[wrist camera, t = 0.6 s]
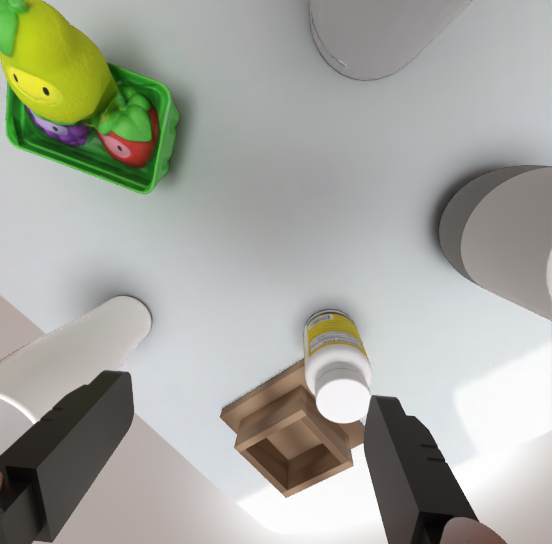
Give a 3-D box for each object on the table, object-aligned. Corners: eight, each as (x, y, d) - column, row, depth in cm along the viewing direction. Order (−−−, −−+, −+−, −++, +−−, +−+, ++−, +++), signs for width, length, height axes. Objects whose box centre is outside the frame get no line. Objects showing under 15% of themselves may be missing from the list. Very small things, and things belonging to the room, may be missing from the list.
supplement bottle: (343, 361, 32) (361, 441, 22) (295, 344, 31) (293, 417, 22) (366, 319, 30) (395, 386, 20) (315, 300, 30) (321, 360, 20)
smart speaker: (544, 151, 24) (848, 127, 11) (545, 258, 26) (788, 346, 13) (421, 184, 25) (552, 200, 12) (434, 282, 28) (552, 383, 15)
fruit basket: (57, 148, 27) (-105, 134, 16) (66, 35, 24) (-123, -73, 13) (177, 192, 27) (98, 207, 17) (201, 87, 24) (124, 22, 14)
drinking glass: (132, 354, 33) (9, 490, 19) (86, 311, 32) (-84, 423, 18) (173, 321, 32) (70, 445, 17) (126, 274, 30) (-28, 367, 16)
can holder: (304, 358, 32) (305, 389, 27) (367, 430, 34) (377, 469, 30) (222, 409, 35) (210, 444, 30) (285, 472, 37) (283, 512, 33)
